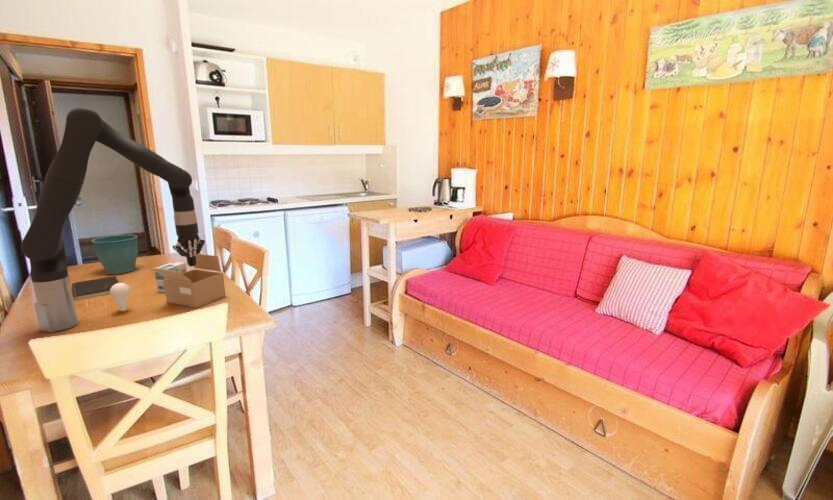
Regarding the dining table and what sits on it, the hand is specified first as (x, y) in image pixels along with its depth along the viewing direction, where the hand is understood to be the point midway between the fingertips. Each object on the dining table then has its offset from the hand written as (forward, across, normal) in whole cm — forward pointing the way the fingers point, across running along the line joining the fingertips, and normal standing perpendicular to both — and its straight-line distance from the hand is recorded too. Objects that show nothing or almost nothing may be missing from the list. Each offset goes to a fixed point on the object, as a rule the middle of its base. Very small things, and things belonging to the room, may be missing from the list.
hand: (192, 265), depth 160 cm
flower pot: (+14, +15, +70) cm, 73 cm away
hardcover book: (+15, -7, +52) cm, 55 cm away
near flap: (+1, -9, 0) cm, 9 cm away
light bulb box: (+14, +6, +21) cm, 26 cm away
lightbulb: (+14, -19, +15) cm, 28 cm away
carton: (+14, 0, 0) cm, 14 cm away
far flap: (0, +6, 0) cm, 6 cm away
